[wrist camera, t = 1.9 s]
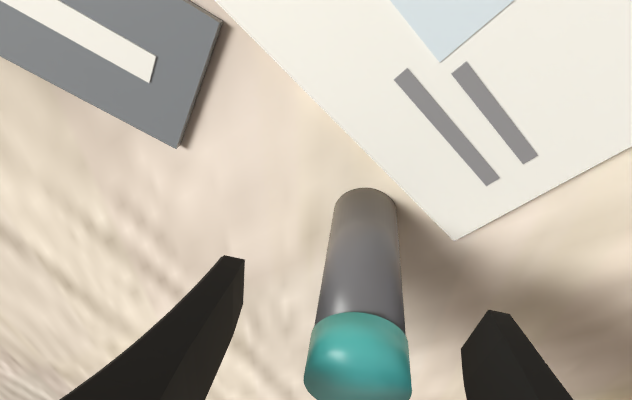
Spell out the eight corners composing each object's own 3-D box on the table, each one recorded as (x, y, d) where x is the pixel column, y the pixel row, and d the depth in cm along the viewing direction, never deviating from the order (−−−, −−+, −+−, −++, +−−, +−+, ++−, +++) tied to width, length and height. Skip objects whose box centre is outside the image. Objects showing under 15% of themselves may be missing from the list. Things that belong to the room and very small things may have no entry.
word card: (222, 21, 11) (218, 22, 10) (179, 145, 14) (175, 149, 13) (-93, -173, 9) (-109, -177, 9) (-69, 13, 12) (-80, 15, 12)
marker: (411, 217, 14) (434, 397, 8) (362, 247, 15) (353, 422, 10) (367, 174, 13) (361, 343, 7) (319, 210, 14) (282, 377, 9)
